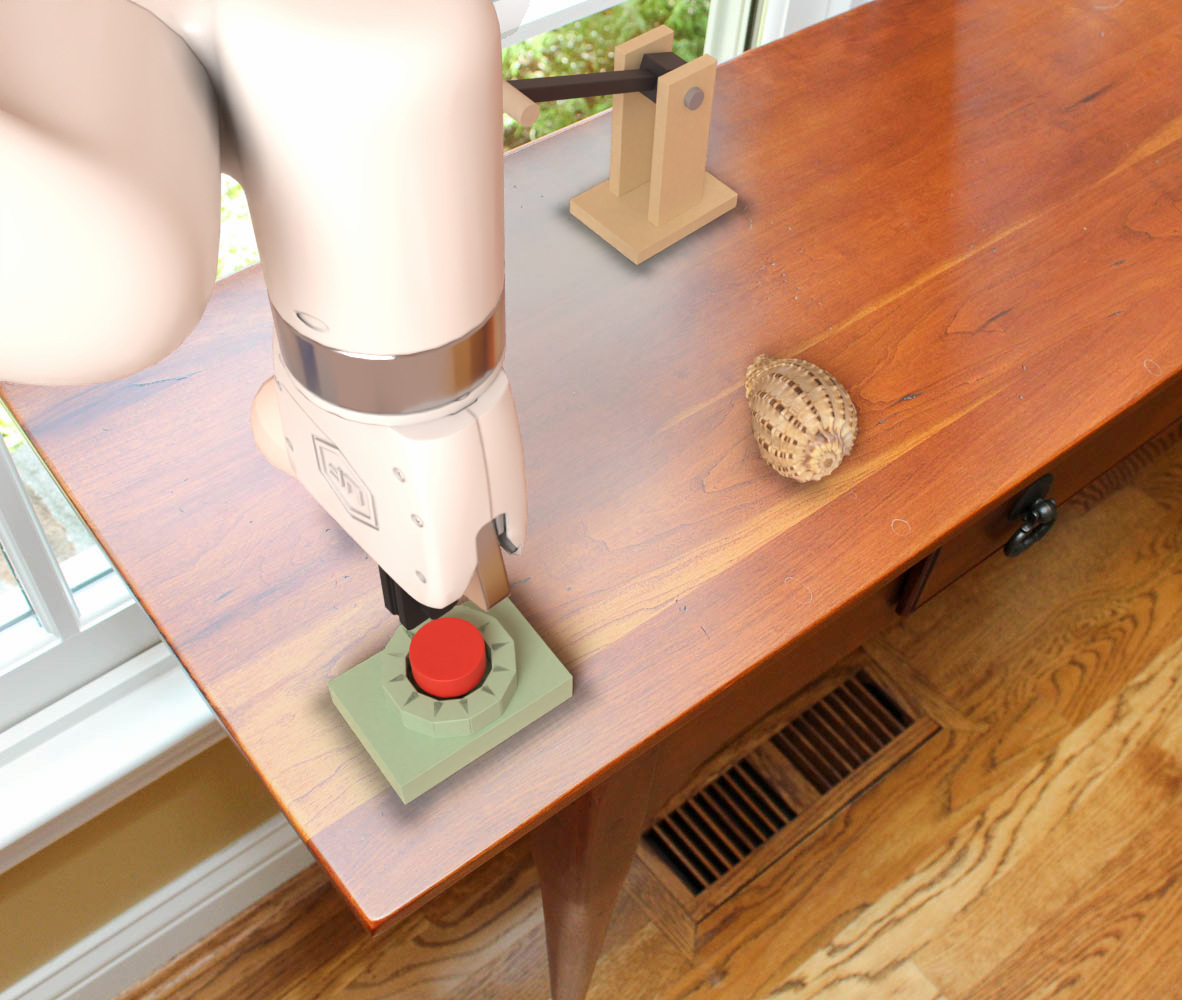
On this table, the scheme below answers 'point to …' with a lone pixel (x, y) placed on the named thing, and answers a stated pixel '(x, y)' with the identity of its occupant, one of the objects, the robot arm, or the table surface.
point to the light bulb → (270, 427)
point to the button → (447, 657)
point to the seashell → (799, 417)
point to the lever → (585, 86)
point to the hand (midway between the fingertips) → (425, 601)
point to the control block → (449, 700)
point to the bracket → (657, 158)
